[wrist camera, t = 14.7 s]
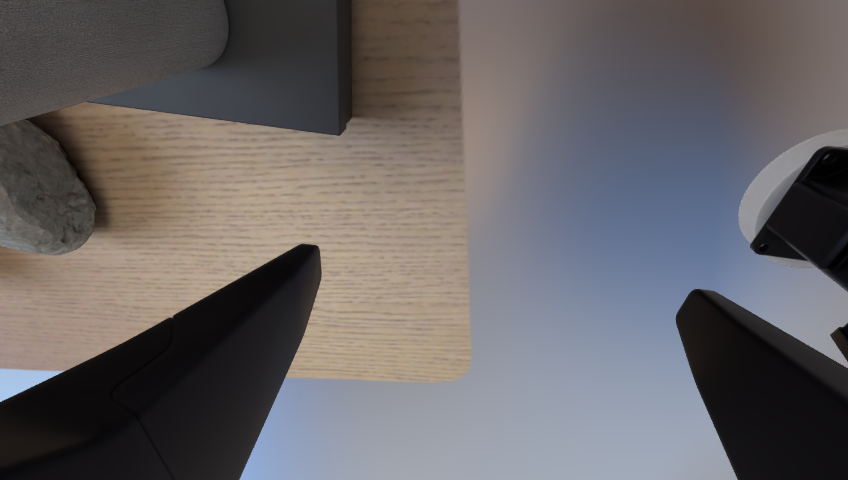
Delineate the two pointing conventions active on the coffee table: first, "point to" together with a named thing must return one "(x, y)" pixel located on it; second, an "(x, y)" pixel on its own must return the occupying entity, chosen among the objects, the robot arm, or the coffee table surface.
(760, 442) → the robot arm
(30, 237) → the decorative stone
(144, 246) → the coffee table surface
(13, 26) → the planter
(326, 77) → the stand with wooden pole
